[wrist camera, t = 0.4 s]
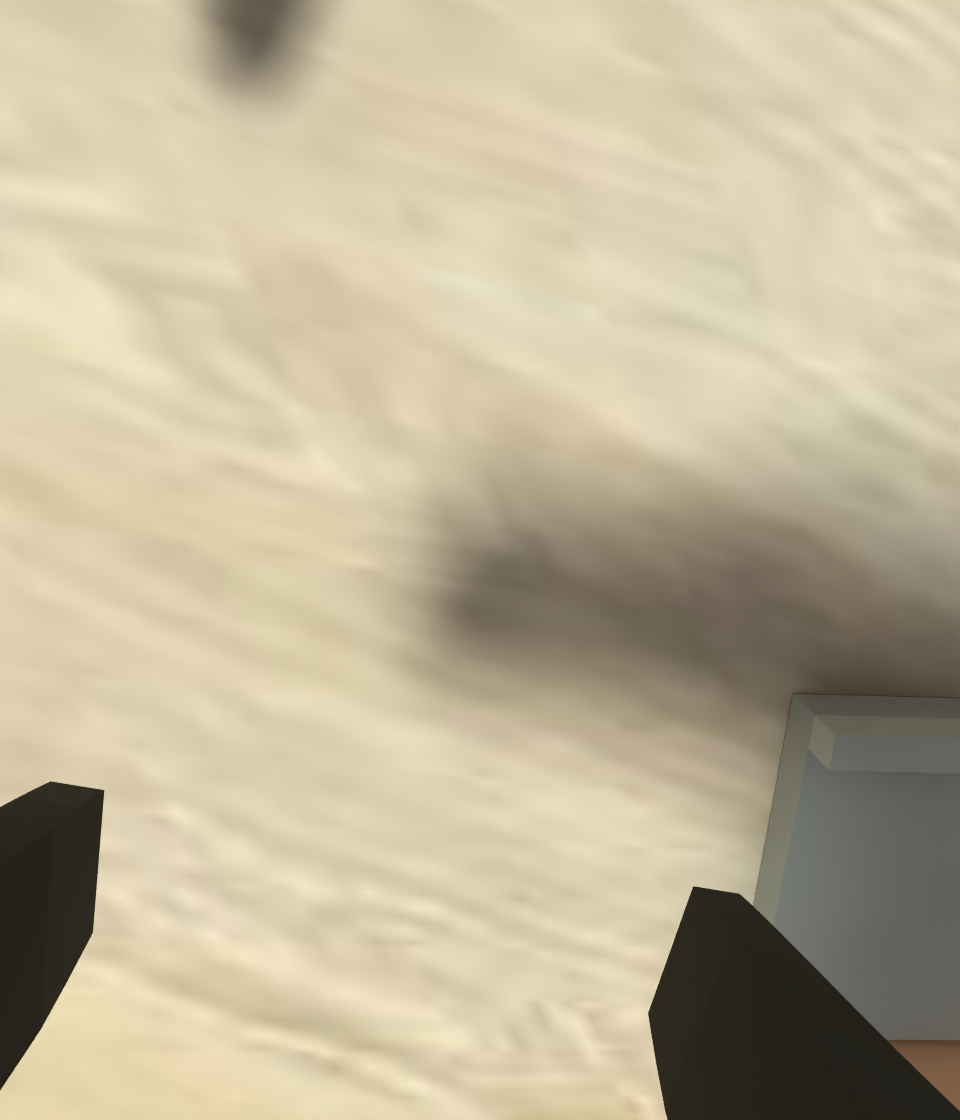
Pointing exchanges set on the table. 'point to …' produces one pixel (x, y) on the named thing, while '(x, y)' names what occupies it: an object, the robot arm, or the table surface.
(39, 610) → the table surface
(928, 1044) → the slab
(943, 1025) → the grey tray
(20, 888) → the robot arm
